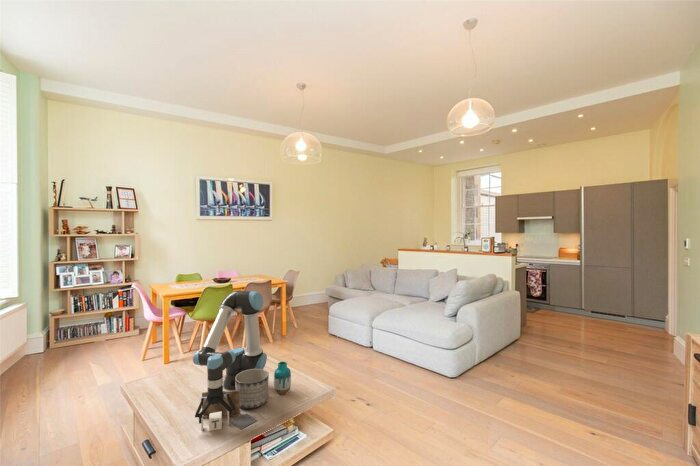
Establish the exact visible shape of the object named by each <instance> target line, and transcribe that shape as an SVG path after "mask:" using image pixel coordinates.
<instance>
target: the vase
mask: <svg viewBox="0 0 700 466" xmlns="http://www.w3.org/2000/svg"><path fill="white" fill-rule="evenodd" d="M273 373H274V375H273V386H274V391H275V393H276V394H278V395H285V394H287V393H289V392H290V390H291V386H292V371H291V369H290V368H289V367H288V363H287V361H285V360H284V361H279V362H278V363H277V368H276V369H274V372H273Z"/></svg>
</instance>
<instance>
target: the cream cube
mask: <svg viewBox="0 0 700 466" xmlns="http://www.w3.org/2000/svg"><path fill="white" fill-rule="evenodd" d="M222 416H223V415H222V411H221V412H215V413H210V414H209V416H208V431H210V432H211V431H215V430H220V429H221V430H222V429H223V425H222V423H223V419H222Z"/></svg>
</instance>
